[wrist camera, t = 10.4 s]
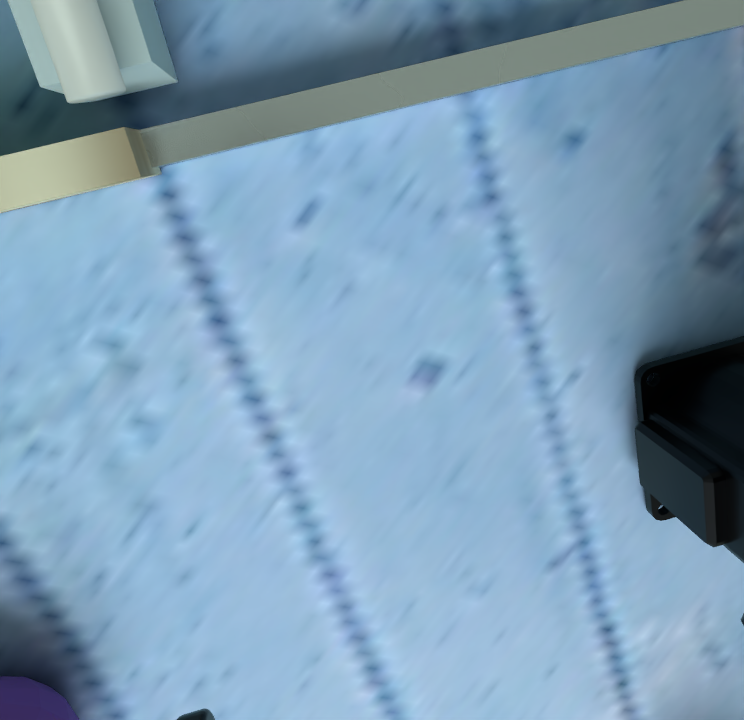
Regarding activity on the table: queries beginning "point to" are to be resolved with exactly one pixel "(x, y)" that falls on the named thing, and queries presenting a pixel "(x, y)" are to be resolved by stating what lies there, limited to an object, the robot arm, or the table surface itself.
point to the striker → (94, 46)
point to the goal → (343, 102)
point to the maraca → (31, 701)
